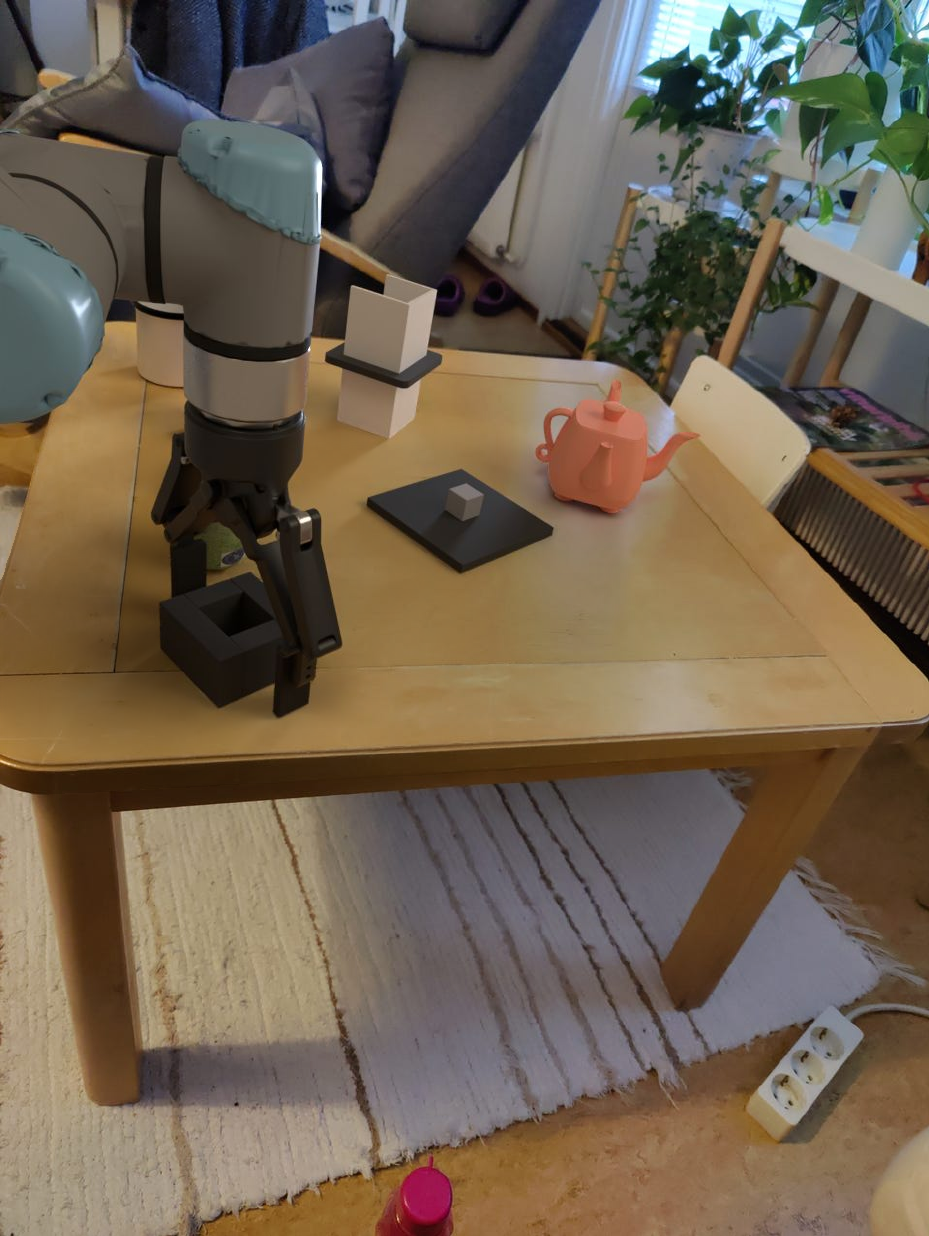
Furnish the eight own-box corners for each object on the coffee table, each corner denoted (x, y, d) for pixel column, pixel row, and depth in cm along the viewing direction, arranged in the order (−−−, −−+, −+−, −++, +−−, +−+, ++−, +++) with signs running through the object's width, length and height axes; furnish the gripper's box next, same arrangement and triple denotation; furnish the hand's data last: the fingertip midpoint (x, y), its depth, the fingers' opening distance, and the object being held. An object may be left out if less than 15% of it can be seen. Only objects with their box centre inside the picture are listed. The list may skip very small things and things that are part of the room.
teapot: (593, 456, 110) (619, 374, 104) (671, 514, 101) (704, 428, 95) (503, 469, 102) (524, 381, 96) (579, 533, 94) (608, 441, 87)
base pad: (366, 505, 90) (370, 475, 88) (459, 476, 99) (465, 448, 97) (460, 573, 83) (467, 543, 81) (552, 535, 92) (560, 507, 90)
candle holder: (337, 364, 119) (350, 239, 109) (500, 420, 114) (529, 295, 105) (233, 424, 99) (237, 279, 90) (425, 495, 95) (452, 350, 85)
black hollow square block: (159, 648, 67) (158, 602, 64) (248, 615, 72) (250, 570, 70) (218, 708, 63) (219, 661, 61) (307, 668, 68) (312, 624, 66)
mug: (219, 392, 104) (221, 317, 99) (135, 389, 101) (132, 311, 95) (207, 352, 113) (208, 281, 108) (129, 348, 109) (126, 274, 104)
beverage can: (223, 531, 81) (226, 412, 74) (268, 571, 78) (276, 450, 70) (160, 549, 77) (158, 425, 70) (205, 592, 74) (207, 466, 66)
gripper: (422, 478, 51) (378, 731, 64) (190, 325, 64) (192, 564, 76) (322, 509, 47) (296, 777, 59) (91, 337, 59) (110, 590, 71)
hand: (237, 658), depth 68 cm, fingers open, 13 cm apart
